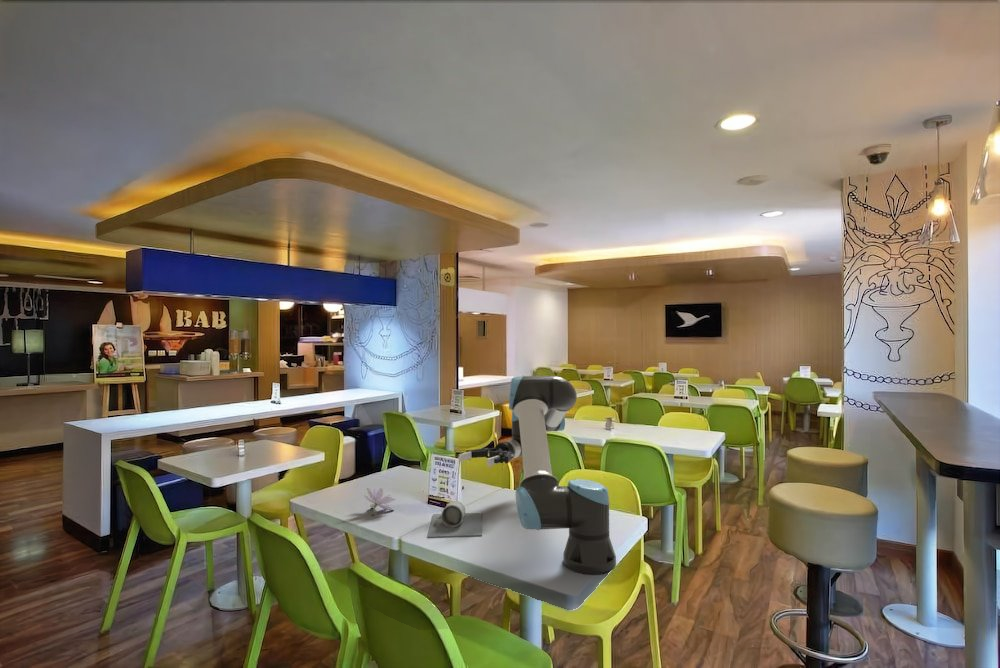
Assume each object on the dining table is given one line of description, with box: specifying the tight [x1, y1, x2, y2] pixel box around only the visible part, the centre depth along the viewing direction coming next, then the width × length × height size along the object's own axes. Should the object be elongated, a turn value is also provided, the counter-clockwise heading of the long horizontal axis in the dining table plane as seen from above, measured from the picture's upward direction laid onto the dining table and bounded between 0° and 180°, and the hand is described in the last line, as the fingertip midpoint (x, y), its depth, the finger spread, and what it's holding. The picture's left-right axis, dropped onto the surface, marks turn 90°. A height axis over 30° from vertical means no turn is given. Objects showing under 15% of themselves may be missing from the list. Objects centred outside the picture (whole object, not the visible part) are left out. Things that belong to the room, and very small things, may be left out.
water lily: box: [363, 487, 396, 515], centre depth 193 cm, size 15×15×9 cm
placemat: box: [427, 512, 483, 539], centre depth 179 cm, size 22×18×1 cm
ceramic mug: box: [435, 500, 466, 527], centre depth 180 cm, size 11×8×8 cm
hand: (473, 460), depth 188 cm, fingers open, 13 cm apart
